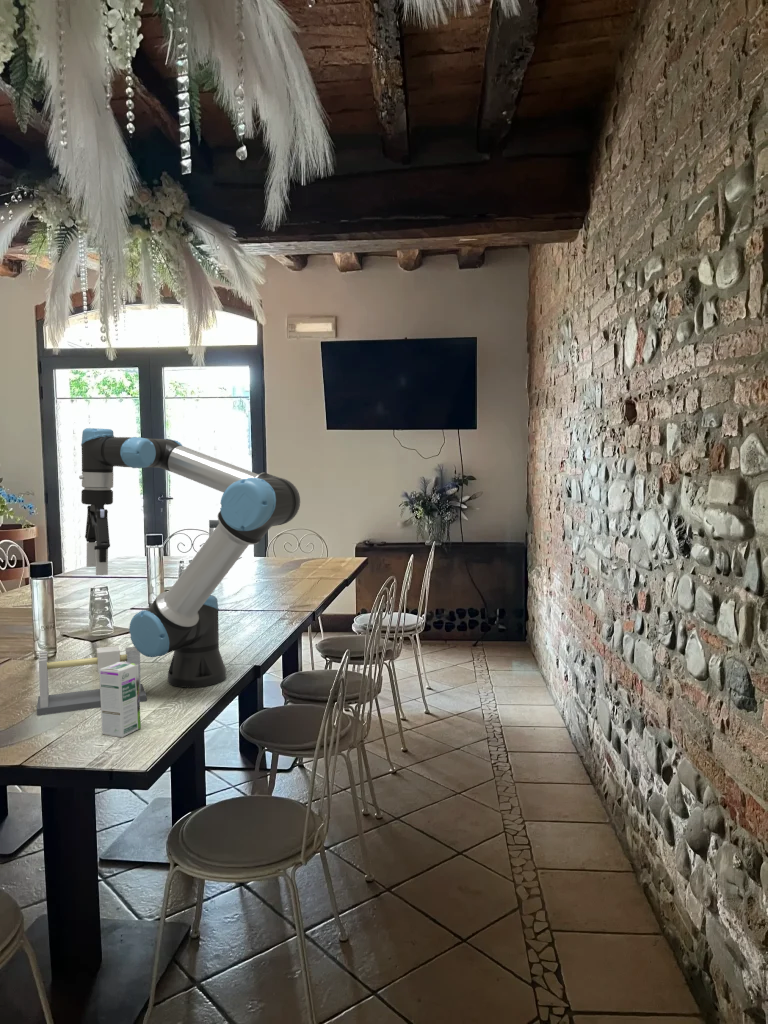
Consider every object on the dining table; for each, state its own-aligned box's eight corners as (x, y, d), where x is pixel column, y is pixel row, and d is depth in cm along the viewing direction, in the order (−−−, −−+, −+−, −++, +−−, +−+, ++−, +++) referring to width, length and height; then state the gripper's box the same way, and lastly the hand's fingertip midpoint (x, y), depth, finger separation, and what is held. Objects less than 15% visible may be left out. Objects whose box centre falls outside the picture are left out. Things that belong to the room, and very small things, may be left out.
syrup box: (122, 738, 149) (120, 670, 148) (100, 734, 151) (98, 667, 150) (141, 728, 154) (139, 663, 154) (119, 725, 157) (118, 660, 156)
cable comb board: (142, 689, 182) (141, 641, 181) (146, 701, 173) (145, 650, 172) (38, 702, 172) (36, 651, 171) (37, 715, 163) (35, 661, 162)
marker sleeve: (118, 665, 177) (118, 645, 177) (120, 670, 172) (119, 650, 172) (97, 668, 175) (96, 648, 174) (98, 673, 170) (97, 652, 170)
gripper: (74, 485, 191) (73, 564, 192) (90, 491, 170) (89, 579, 171) (103, 486, 195) (102, 562, 196) (123, 491, 173) (122, 577, 175)
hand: (96, 570), depth 184 cm, fingers open, 13 cm apart
